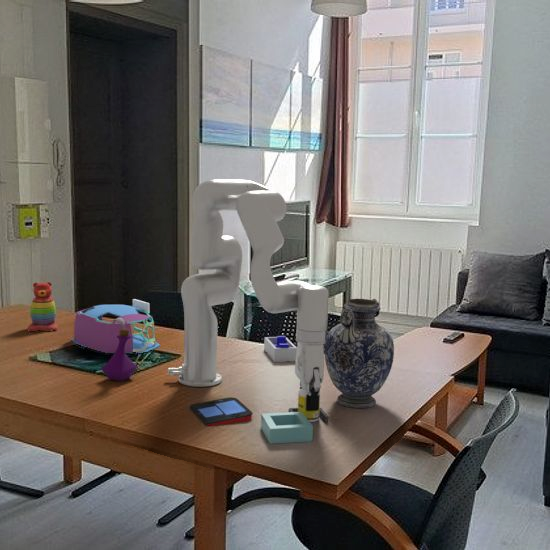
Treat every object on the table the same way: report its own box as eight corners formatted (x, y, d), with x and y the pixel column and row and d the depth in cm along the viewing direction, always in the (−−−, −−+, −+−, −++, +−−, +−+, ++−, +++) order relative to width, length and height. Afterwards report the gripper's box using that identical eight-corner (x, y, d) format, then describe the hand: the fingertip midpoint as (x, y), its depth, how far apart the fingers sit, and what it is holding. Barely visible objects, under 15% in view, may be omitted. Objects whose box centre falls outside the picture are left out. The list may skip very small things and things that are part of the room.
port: (269, 443, 153) (270, 428, 153) (260, 427, 163) (261, 413, 162) (312, 441, 155) (312, 426, 155) (300, 425, 165) (301, 411, 165)
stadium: (61, 339, 243) (60, 300, 241) (120, 330, 259) (120, 293, 257) (109, 360, 218) (109, 316, 215) (172, 349, 234) (172, 308, 232)
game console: (188, 409, 176) (188, 400, 175) (234, 404, 181) (234, 395, 180) (205, 428, 163) (206, 419, 162) (255, 422, 168) (255, 413, 167)
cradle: (294, 424, 166) (295, 418, 166) (287, 413, 173) (287, 408, 173) (328, 422, 168) (328, 416, 168) (319, 412, 175) (320, 406, 175)
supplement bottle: (296, 415, 172) (297, 377, 171) (317, 415, 173) (318, 378, 171) (298, 422, 167) (300, 384, 165) (320, 422, 167) (322, 384, 166)
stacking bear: (26, 332, 251) (25, 284, 248) (30, 326, 261) (29, 280, 258) (56, 331, 253) (56, 284, 251) (59, 325, 263) (58, 280, 260)
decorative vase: (341, 385, 198) (347, 291, 193) (402, 398, 188) (409, 299, 184) (307, 405, 179) (312, 302, 175) (372, 421, 170) (379, 312, 166)
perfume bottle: (137, 377, 200) (138, 317, 197) (122, 384, 193) (122, 322, 190) (117, 373, 203) (117, 314, 200) (101, 380, 196) (100, 319, 193)
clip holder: (274, 362, 221) (274, 348, 220) (264, 349, 236) (264, 337, 235) (296, 361, 222) (297, 347, 222) (285, 349, 237) (285, 336, 237)
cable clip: (272, 352, 234) (272, 336, 233) (285, 352, 234) (285, 335, 233) (274, 362, 222) (275, 344, 221) (288, 362, 222) (288, 344, 221)
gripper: (288, 328, 174) (286, 395, 177) (306, 344, 157) (303, 419, 160) (316, 327, 176) (313, 394, 178) (337, 343, 159) (333, 417, 162)
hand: (308, 405), depth 169 cm, fingers closed on supplement bottle, 5 cm apart
